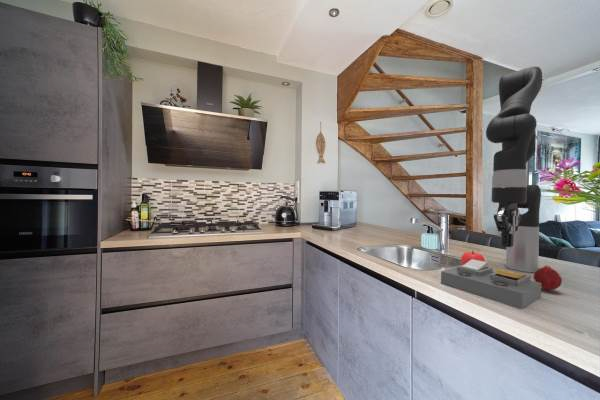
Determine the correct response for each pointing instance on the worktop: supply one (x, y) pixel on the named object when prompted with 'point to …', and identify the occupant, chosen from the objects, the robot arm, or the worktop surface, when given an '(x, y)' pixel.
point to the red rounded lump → (548, 278)
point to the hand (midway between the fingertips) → (507, 246)
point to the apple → (471, 257)
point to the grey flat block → (493, 285)
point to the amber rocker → (509, 273)
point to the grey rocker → (475, 265)
